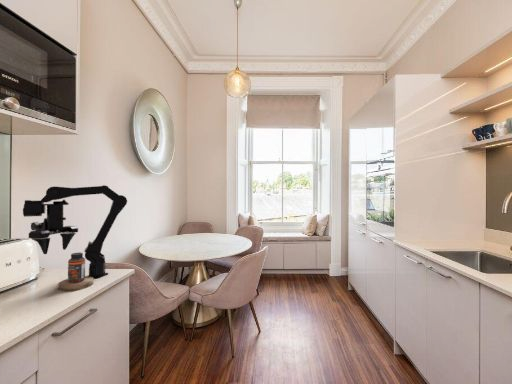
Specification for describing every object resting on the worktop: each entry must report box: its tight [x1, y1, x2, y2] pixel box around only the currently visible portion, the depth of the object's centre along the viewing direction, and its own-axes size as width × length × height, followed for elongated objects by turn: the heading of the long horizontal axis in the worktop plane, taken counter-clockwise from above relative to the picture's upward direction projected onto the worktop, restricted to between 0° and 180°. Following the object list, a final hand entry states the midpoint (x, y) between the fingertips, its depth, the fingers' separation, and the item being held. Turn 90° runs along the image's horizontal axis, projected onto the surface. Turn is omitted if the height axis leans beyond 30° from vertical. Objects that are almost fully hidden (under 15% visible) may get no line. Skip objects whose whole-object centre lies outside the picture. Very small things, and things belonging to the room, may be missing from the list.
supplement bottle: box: [67, 252, 86, 283], centre depth 109 cm, size 6×6×11 cm
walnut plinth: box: [57, 275, 94, 292], centre depth 109 cm, size 12×12×2 cm
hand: (55, 251), depth 114 cm, fingers open, 9 cm apart
